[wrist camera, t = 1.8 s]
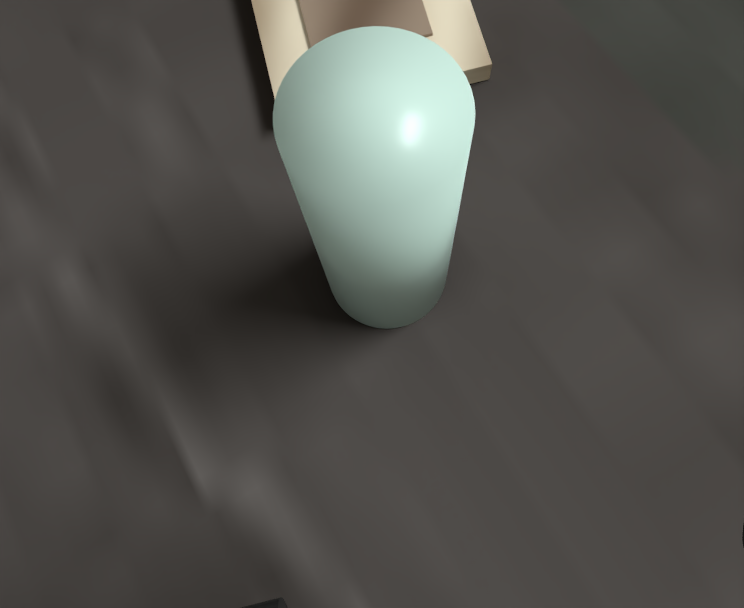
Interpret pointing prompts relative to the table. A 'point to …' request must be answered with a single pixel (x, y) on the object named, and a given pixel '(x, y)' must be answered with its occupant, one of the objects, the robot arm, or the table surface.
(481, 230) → the table surface
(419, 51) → the tube
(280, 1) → the board
